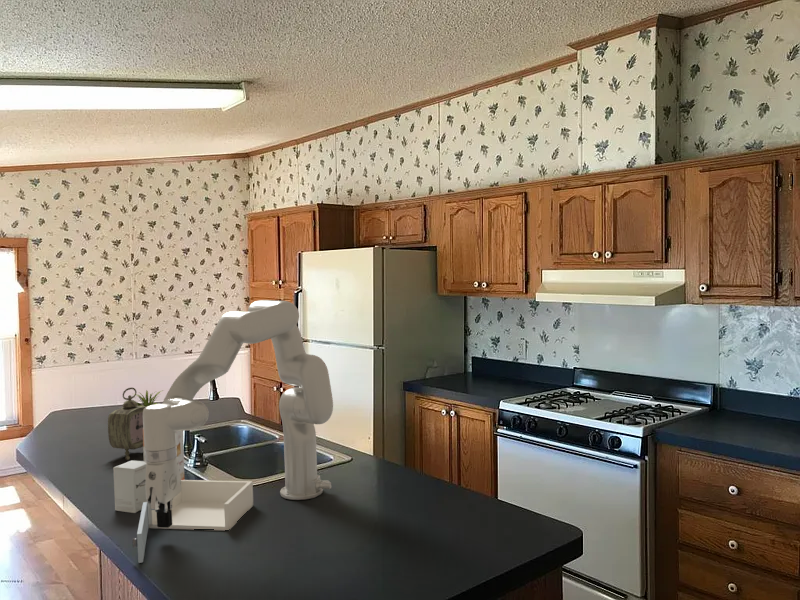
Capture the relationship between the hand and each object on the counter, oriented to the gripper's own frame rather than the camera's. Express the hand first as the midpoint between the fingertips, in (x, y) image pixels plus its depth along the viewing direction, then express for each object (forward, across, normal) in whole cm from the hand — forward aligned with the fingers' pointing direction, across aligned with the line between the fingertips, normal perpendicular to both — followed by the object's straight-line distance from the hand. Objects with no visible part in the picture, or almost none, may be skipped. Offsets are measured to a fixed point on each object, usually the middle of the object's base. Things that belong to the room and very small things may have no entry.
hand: (164, 526), depth 170 cm
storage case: (+4, +16, -3) cm, 17 cm away
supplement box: (+4, +21, +20) cm, 29 cm away
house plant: (+4, +114, +65) cm, 131 cm away
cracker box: (+4, +36, +18) cm, 40 cm away
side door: (+3, -4, +5) cm, 7 cm away
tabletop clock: (+4, +71, +49) cm, 86 cm away
